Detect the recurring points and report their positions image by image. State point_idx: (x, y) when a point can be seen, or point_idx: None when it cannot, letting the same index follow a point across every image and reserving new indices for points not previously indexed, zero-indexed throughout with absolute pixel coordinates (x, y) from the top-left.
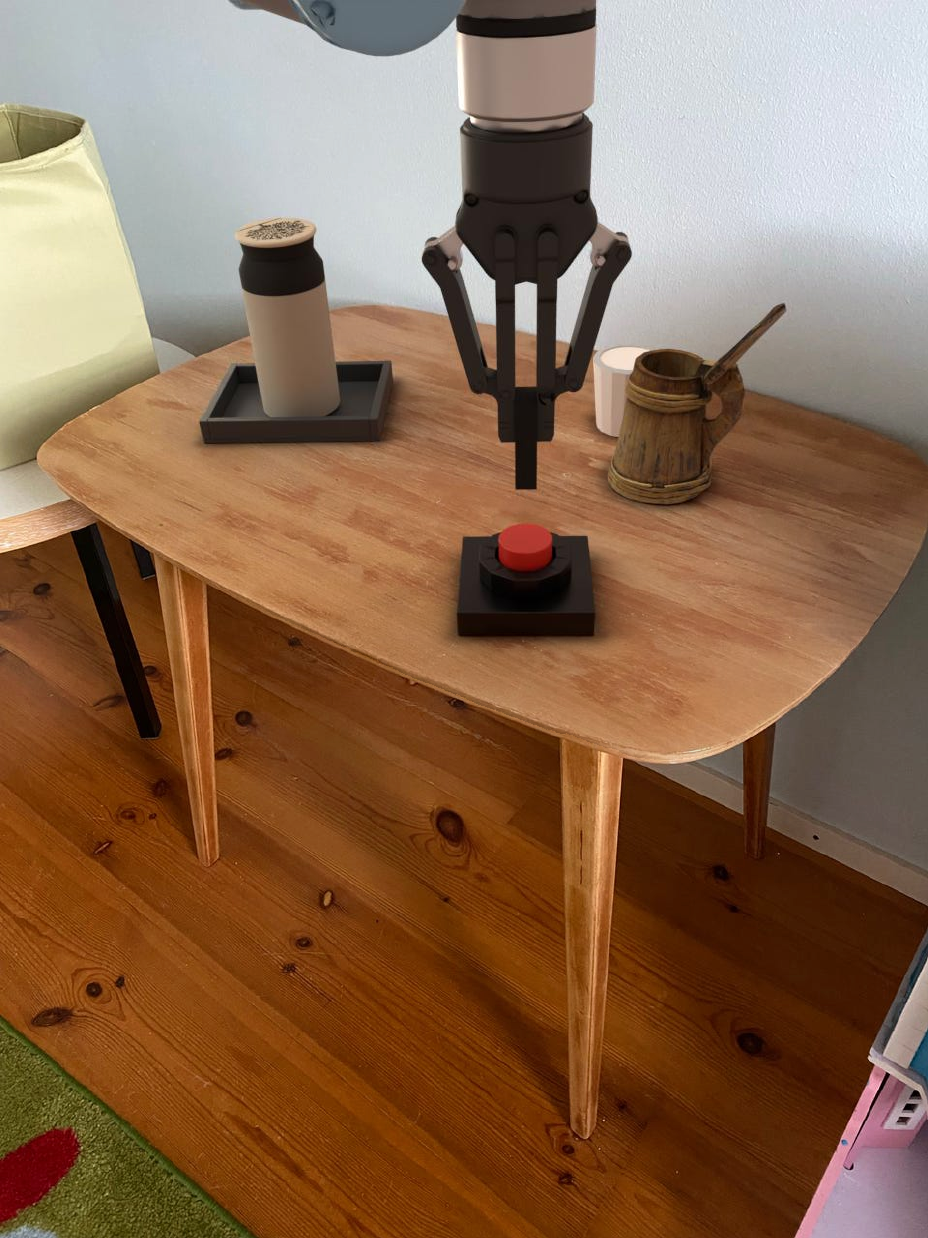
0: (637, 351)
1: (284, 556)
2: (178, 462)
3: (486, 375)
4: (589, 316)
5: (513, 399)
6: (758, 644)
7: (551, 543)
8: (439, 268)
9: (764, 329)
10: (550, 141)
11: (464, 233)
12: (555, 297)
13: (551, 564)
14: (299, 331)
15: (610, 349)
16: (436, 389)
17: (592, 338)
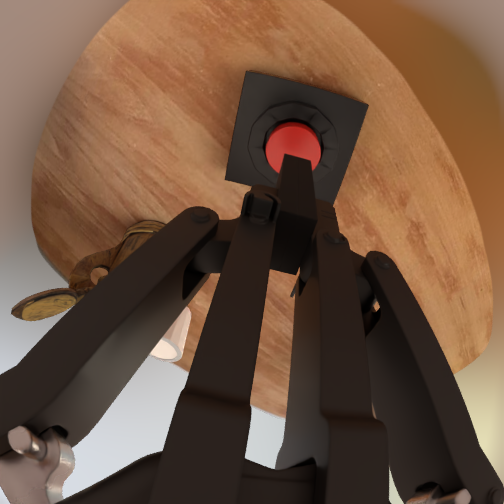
0: (152, 351)
1: (444, 240)
2: (446, 338)
3: (364, 279)
4: (107, 315)
5: (314, 235)
6: (131, 50)
7: (269, 138)
8: (482, 485)
9: (26, 298)
10: None
11: None
12: (184, 399)
13: (273, 122)
14: (373, 410)
15: (169, 359)
16: (283, 368)
17: (125, 270)
